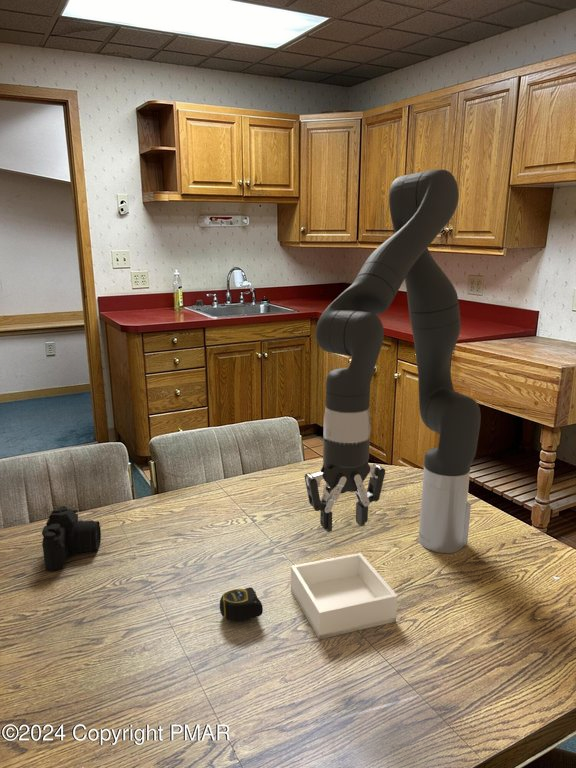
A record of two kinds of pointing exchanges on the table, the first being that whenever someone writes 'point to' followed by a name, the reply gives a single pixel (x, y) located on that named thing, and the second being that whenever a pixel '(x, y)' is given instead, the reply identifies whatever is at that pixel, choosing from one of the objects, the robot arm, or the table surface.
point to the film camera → (67, 537)
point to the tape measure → (240, 605)
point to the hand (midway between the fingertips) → (343, 526)
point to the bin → (342, 595)
